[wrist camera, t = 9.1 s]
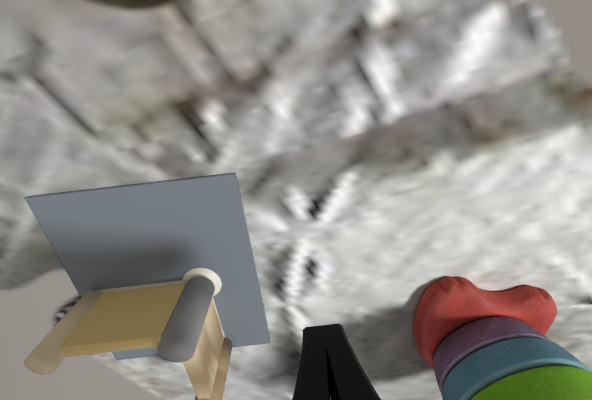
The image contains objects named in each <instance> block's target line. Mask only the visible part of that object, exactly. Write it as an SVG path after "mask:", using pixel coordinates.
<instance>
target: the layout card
mask: <svg viewBox="0 0 592 400" xmlns="http://www.w3.org/2000/svg"><path fill="white" fill-rule="evenodd" d="M25 199H26V201H27V203H28V205H29V206H30V208H31V210H32V212H33V213H34V215H35V217H36V219H37V221H38V222H39V224H40V226H41V228H42V229H43V231H44V233H45V235H46V236H47V238H48V240H49V242H50V243H51V245H52V247H53V249H54V251H55V252H56V254H57V256H58V258H59V259H60V261H61V263H62V265H63V266H64V268H65V270H66V272H67V273H68V275H69V277H70V279H71V281H72V282H73V284H74V286H75V288H76V289H77V291H78V293H79V295H80V296H81V297H82V296H83V295H84V294H85V293H86V292H87V291H90V290H97V291H100V292H102V293H111V292H120V291H130V290H139V289H148V288H157V287H166V286H175V285H184V284H187V282H188V280H189V279H191V278H192V277H195V276H203V277H206V278H208V279H210V280H211V281H212V282H213V283H214V285H215V290H214V294H213V297H212V299H213V302H214V306H215V309H216V312H217V315H218V319H219V322H220V325H221V329H222V332H223V335H224V337H226V338H228V339H230V340H231V341H232V347H239V346H248V345H257V344H266V343H270V336H269V331H268V326H267V321H266V317H265V312H264V307H263V302H262V297H261V292H260V288H259V283H258V278H257V273H256V268H255V263H254V259H253V254H252V249H251V244H250V239H249V235H248V230H247V225H246V220H245V215H244V210H243V206H242V201H241V196H240V191H239V186H238V182H237V177H236V173H228V174H220V175H211V176H202V177H193V178H185V179H176V180H167V181H158V182H150V183H141V184H132V185H123V186H115V187H106V188H97V189H89V190H80V191H71V192H62V193H54V194H45V195H36V196H29V197H26V198H25ZM112 353H113V355H114V356H115V358H116V360H122V359H131V358H140V357H149V356H158V355H160V354H159V353H158V350H157V347H151V348H142V349H133V350H124V351H115V352H112Z"/></svg>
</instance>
